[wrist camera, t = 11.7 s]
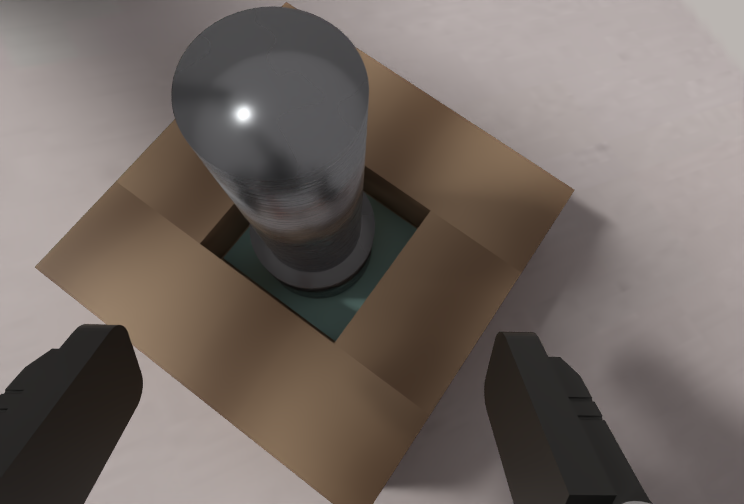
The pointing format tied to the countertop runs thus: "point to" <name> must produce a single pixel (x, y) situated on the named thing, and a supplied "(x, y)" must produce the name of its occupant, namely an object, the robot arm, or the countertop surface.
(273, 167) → the grey cylindrical peg
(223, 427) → the countertop surface
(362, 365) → the block
